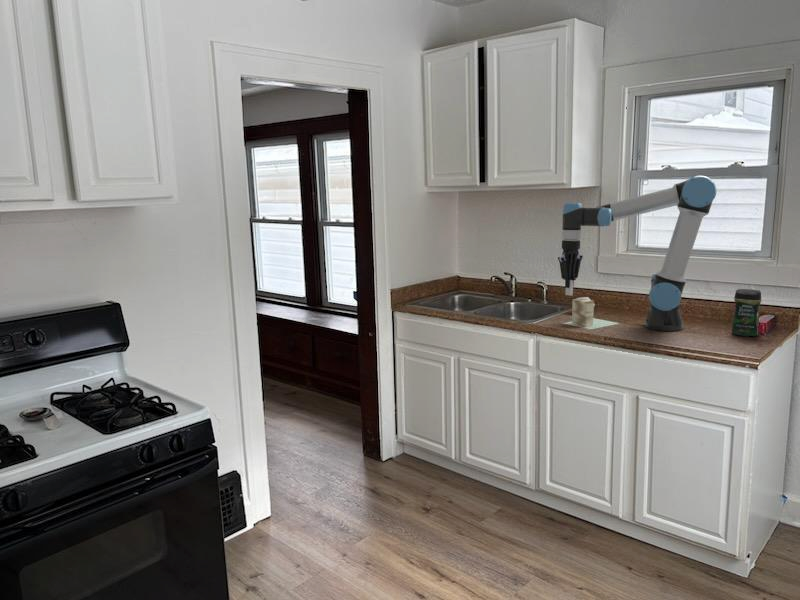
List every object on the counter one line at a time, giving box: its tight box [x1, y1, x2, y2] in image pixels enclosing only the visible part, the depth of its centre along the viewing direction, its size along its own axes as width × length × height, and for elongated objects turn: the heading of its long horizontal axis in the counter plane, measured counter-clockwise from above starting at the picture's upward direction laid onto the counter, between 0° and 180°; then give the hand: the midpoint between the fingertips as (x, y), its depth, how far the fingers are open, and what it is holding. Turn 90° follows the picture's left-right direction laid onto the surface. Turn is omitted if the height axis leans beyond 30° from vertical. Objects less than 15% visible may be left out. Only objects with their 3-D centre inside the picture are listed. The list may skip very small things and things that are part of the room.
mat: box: [562, 317, 620, 330], centre depth 290 cm, size 16×19×1 cm
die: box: [576, 296, 596, 307], centre depth 310 cm, size 8×9×10 cm
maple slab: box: [571, 297, 595, 327], centre depth 286 cm, size 8×4×11 cm, turn 34°
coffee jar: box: [731, 288, 762, 337], centre depth 263 cm, size 10×8×19 cm
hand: (569, 295), depth 280 cm, fingers closed
